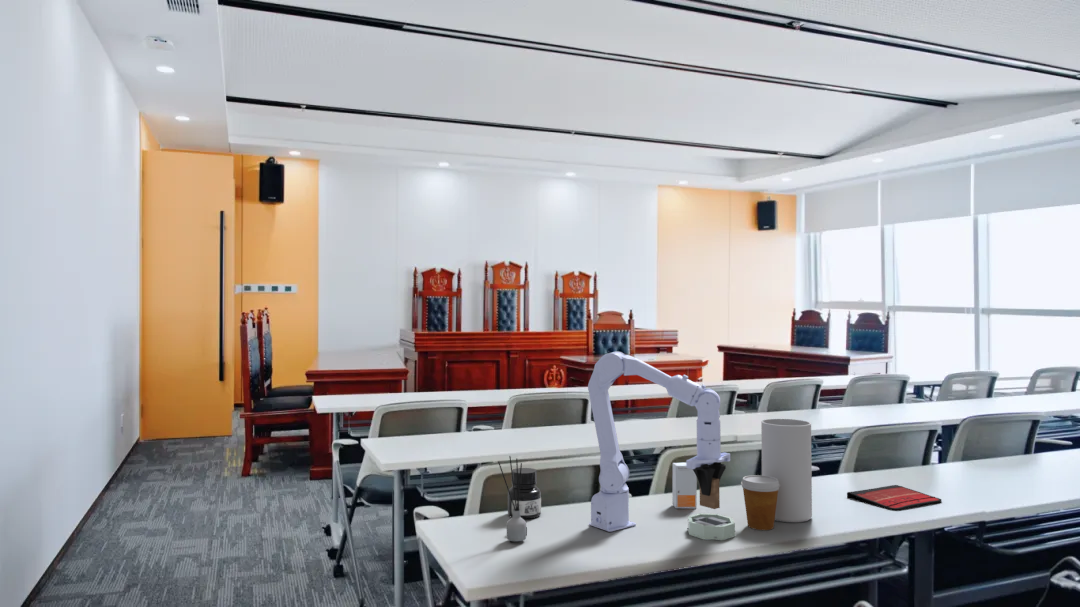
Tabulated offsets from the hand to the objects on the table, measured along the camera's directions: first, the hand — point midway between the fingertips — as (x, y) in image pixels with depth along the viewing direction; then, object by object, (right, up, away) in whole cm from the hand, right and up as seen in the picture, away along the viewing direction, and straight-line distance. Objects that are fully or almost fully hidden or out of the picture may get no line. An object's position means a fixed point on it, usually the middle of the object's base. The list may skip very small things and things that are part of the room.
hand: (709, 494), depth 174 cm
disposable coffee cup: (+14, -10, +5) cm, 18 cm away
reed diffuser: (-48, -10, -6) cm, 50 cm away
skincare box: (-1, -10, +23) cm, 25 cm away
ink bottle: (-46, -10, +16) cm, 50 cm away
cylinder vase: (+24, -10, +14) cm, 29 cm away
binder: (+61, -10, +30) cm, 68 cm away
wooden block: (0, -3, 0) cm, 3 cm away
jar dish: (0, -10, 0) cm, 10 cm away
